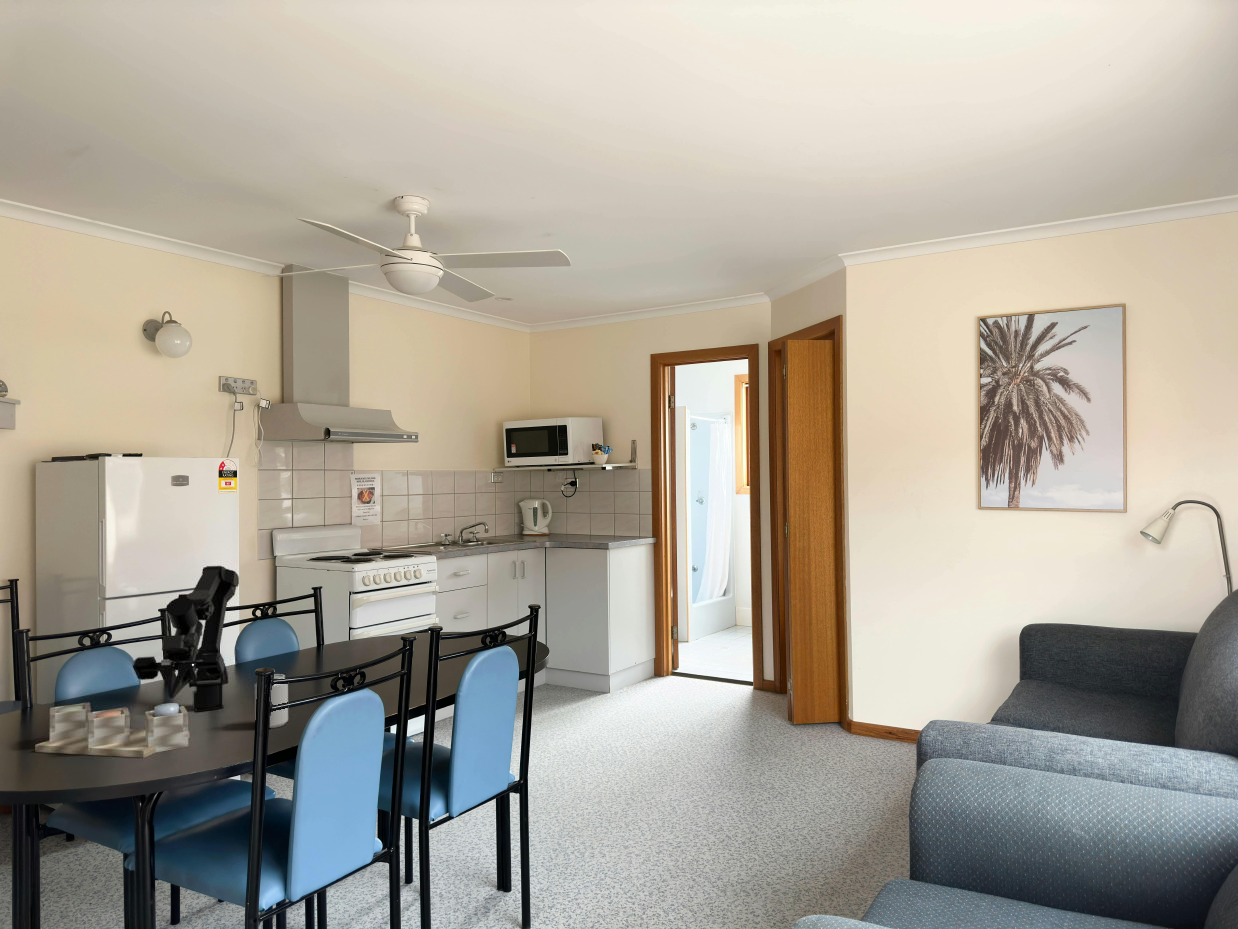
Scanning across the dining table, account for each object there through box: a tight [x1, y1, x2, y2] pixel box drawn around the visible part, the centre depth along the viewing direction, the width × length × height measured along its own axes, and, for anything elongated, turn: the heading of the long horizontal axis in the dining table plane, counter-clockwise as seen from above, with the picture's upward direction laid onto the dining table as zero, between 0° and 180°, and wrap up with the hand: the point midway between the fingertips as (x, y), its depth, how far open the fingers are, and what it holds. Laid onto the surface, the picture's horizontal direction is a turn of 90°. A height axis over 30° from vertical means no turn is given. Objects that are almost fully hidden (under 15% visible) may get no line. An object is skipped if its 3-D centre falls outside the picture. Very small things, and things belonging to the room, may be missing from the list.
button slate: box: [153, 702, 180, 717], centre depth 185 cm, size 5×5×3 cm
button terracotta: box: [96, 711, 121, 718], centre depth 185 cm, size 5×5×3 cm
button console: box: [34, 702, 191, 759], centre depth 187 cm, size 14×37×8 cm, turn 79°
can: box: [254, 673, 289, 729], centre depth 200 cm, size 8×8×12 cm
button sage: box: [58, 706, 83, 713], centre depth 190 cm, size 5×5×3 cm
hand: (171, 697), depth 188 cm, fingers closed
